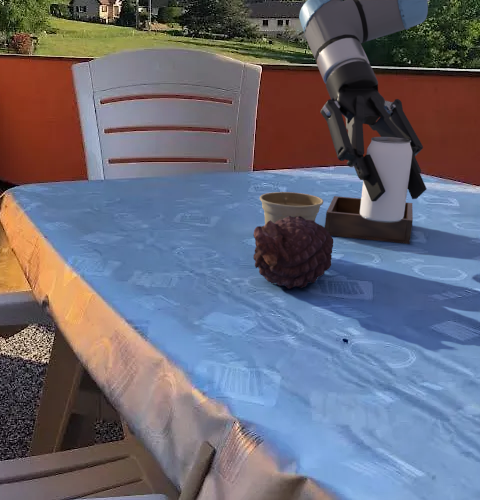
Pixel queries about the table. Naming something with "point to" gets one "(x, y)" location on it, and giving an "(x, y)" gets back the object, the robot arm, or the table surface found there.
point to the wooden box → (365, 223)
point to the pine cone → (292, 251)
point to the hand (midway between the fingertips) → (399, 195)
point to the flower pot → (289, 205)
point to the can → (388, 179)
